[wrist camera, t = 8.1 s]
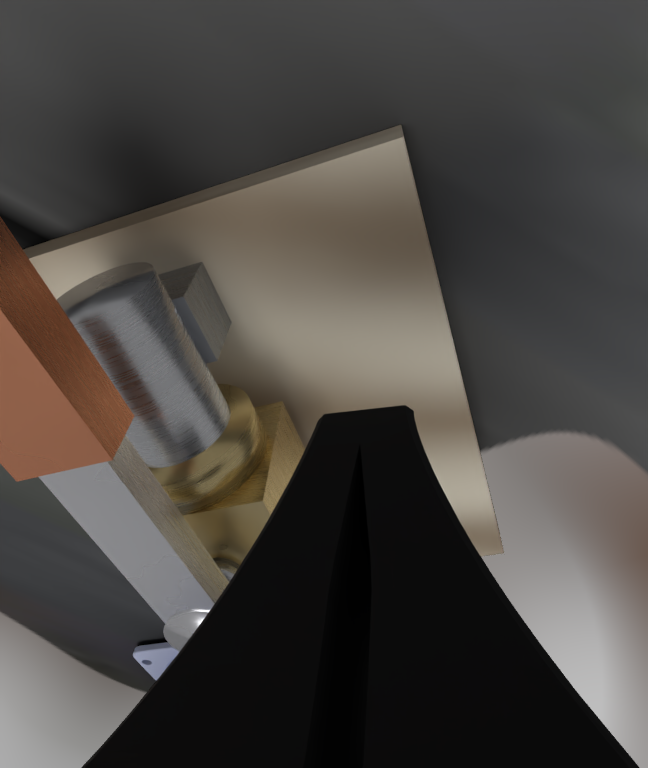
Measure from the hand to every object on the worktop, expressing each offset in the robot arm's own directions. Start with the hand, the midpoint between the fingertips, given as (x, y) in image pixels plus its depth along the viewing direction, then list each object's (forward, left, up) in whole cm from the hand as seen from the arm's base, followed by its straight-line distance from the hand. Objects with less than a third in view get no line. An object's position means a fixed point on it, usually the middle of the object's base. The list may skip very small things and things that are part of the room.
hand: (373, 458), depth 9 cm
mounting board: (-6, +5, -9) cm, 12 cm away
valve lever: (-1, +6, -2) cm, 7 cm away
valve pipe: (-6, +6, -8) cm, 12 cm away
